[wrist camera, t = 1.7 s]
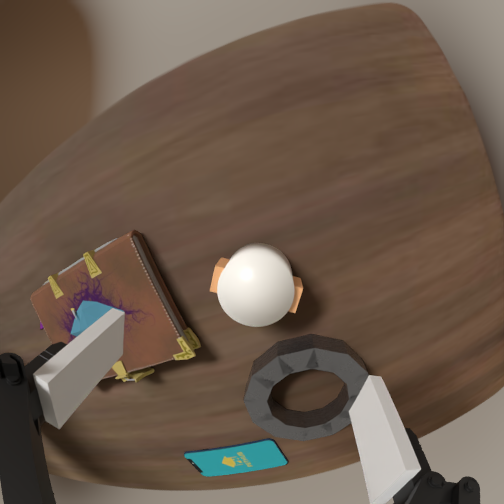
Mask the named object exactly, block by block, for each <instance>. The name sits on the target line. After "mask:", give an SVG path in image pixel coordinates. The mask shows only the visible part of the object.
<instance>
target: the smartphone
mask: <svg viewBox="0 0 504 504" xmlns="http://www.w3.org/2000/svg"><path fill="white" fill-rule="evenodd" d="M184 456H185V457H186V459H187V460H188V461H189V462H190V463H191V464H192V465H193V466H194V467H195V468H196V469H197V470H198V471H199V472H200V473H201V474H202V475H203V476H207V477H209V476H219V475H228V474H236V473H243V472H250V471H256V470H262V469H267V468H273V467H278V466H282V465H286V464H287V463H288V460H287V458H286V457H285V456H284V454H283V453H282V451H281V450H280V448H279V447H278V445H277V444H276V442H275V441H274V440H273V439H270V438H268V439H263V440H258V441H253V442H248V443H243V444H238V445H232V446H226V447H219V448H213V449H203V450H197V451H188V452H185V453H184Z"/></svg>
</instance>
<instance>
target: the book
mask: <svg viewBox="0 0 504 504" xmlns="http://www.w3.org/2000/svg"><path fill="white" fill-rule="evenodd" d="M116 239H117V238H116ZM116 239H114V240H115V241H114V240H112V241H110V242H108V243H106V244H104V245H102V246H101V247H99V248H97V249H95V250H92V251H89V252H86V253H85V254H83V256H84V257H83V258H81V259H80V260H78V261H77V262H75V263H73V264H72V265H70V266H69V267H67V268H66V269H64V270H63V271H61V272H60V273H57V274H54V275H51V276H50V277H48V281H46V282H45V283H44V284H45V285H44V284H43V286H42V287H40V288H39V289H38V290H36V291H35V292H33V293H32V295H31V298H30V299H31V302H32V304H33V306H34V308H35V311H36V313H37V315H38V317H39V319H40V321H41V322H40V329H42V328H44V329H45V331H46V333H47V335H48V337H49V339H50V341H51V343H52V344H55V343H58V342H63V343H65V344H67V345H68V344H69V343H70V342H71V341H72V340H74V339H75V338H76V337H77V336H79V335H80V334H81V333H82V332H83V331H85V330H86V329H87V328H88V327H90V326H91V325H92V324H93V323H94V322H96V321H97V320H98V319H99V318H101V317H102V316H103V315H104V314H106V313H107V312H108V311H109V310H111V309H112V308H114V309H117V310H119V311H122V312H125V319H124V338H123V355H122V356H121V357H120V358H119V359H118V361H117V362H116V363H115V364H114V365H113V366H112V368H111V369H110V370H109V371H108V372H107V373H106V375H105V376H104V377H103V378H102V379H105V378H109V377H113V376H117V375H118V376H117V377H116V378H115V379H120V378H121V379H122V380H123V382H125V381H135V382H136V383H137V382H138V381H139V380H141V379H142V378H143V377H145V376H147V375H149V374H152V373H154V369H153V368H151V367H150V366H153V365H157V364H160V363H164V362H167V361H170V360H174V359H175V360H185V359H189V358H192V357H194V356H196V354H195V352H194V350H195V349H197V348H199V347H201V344H200V342H199V339H198V338H197V336H196V335H195V334H194V333H193V331H192V330H191V329H190V328H187V326H186V324H185V322H184V320H183V318H182V316H181V315H180V313H179V311H178V309H177V307H176V305H175V303H174V301H173V299H172V297H171V295H170V293H169V291H168V289H167V287H166V285H165V283H164V281H163V279H162V277H161V275H160V273H159V271H158V269H157V267H156V265H155V262H154V260H153V258H152V256H151V254H150V252H149V249H148V247H147V245H146V243H145V241H144V239H143V237H142V235H141V233H139V232H138V231H136V230H132V231H131V232H129V233H127V234H125V235H124V236H122V237H120V238H118V239H117V240H116ZM129 377H131V378H133V379H130V378H129Z"/></svg>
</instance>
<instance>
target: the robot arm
mask: <svg viewBox="0 0 504 504" xmlns="http://www.w3.org/2000/svg"><path fill="white" fill-rule="evenodd" d="M124 319H125V312H122V311H119V310H117V309H114V308H112V309H111V310H109V311H108V312H107V313H106V314H104V315H103V316H102V317H101V318H99V319H98V320H97V321H96V322H94V323H93V324H92V325H91V326H90V327H88V328H87V329H86V330H85V331H83V332H82V333H81V334H80V335H79V336H77V337H76V338H75V339H74V340H72V341H71V342H70V343H69V344H68V345H67V344H65V343H63V342H58V343H55V344H52V345H51V346H50V347H48V348H47V349H46V350H45V351H43V352H42V353H41V354H40V355H38V356H37V357H36V358H35V359H33V360H32V361H31V362H30V363H28V364H27V365H26V366H25V367H24V363H23V360H22V358H21V357H20V356H18V355H16V354H13V353H4V354H2V355H0V481H1V488H2V495H3V500H4V504H56V502H55V498H54V495H53V491H52V487H51V483H50V479H49V474H48V470H47V465H46V460H45V454H44V449H43V443H42V436H41V428H40V426H41V425H42V424H43V423H44V422H45V421H46V422H48V423H50V424H51V425H53V426H54V427H56V428H58V429H60V428H61V427H62V426H63V424H64V423H65V422H66V421H67V420H68V418H69V417H70V416H71V415H72V414H73V412H74V411H75V410H76V409H77V408H78V406H79V405H80V404H81V403H82V402H83V400H84V399H85V398H86V397H87V396H88V394H89V393H90V392H91V391H92V390H93V389H94V387H95V386H96V385H97V384H98V383H99V382H100V380H101V379H102V378H103V377H104V376H105V375H106V373H107V372H108V371H109V370H110V369H111V368H112V366H113V365H114V364H115V363H116V362H117V361H118V359H119V358H120V357H121V356H122V355H123V338H124ZM349 415H350V418H351V422H352V426H353V430H354V434H355V438H356V443H357V447H358V451H359V455H360V460H361V464H362V468H363V473H364V477H365V482H366V486H367V490H368V496H369V501H370V504H385V503H387V502H388V501H389V500H390V499H391V498H392V497H393V500H394V504H480V487H479V484H478V483H477V481H476V480H475V479H474V478H472V477H463V478H462V479H461V480H460V481H459V482H458V483H452V482H446V481H445V479H444V477H443V476H442V475H441V474H439V473H437V472H433V471H431V469H430V466H429V464H428V462H427V459H426V457H425V454H424V452H423V451H422V448H421V445H420V444H419V441H418V439H417V436H416V435H415V434H414V433H413V431H412V430H411V429H410V428H404V426H403V424H402V421H401V419H400V417H399V415H398V412H397V410H396V408H395V406H394V403H393V401H392V399H391V397H390V394H389V392H388V390H387V388H386V386H385V384H384V382H383V379H382V377H380V376H373V375H369V376H368V378H367V380H366V382H365V384H364V386H363V387H362V389H361V391H360V393H359V395H358V397H357V398H356V400H355V402H354V404H353V405H352V407H351V409H350V410H349Z"/></svg>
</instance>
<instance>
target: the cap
mask: <svg viewBox="0 0 504 504" xmlns="http://www.w3.org/2000/svg"><path fill="white" fill-rule="evenodd" d="M210 291H212V292H215V293H217V294H218V299H219V302H220V304H221V306H222V308H223V310H224V311H225V312H226V313H227V314H228V315H229V316H230V317H231V318H232V319H234V320H235V321H237V322H239V323H241V324H244V325H247V326H253V327H261V326H266V325H270V324H272V323H275V322H276V321H278V320H280V319H281V318H282V317H283V316H284V315H285V314H286V313H287V312H288V311H289V312H293V313H295V312H296V309H297V306H298V303H299V300H300V297H301V294H302V291H303V286H302V281H301V278H299V277H295V276H292V270H291V266H290V263H289V261H288V259H287V257H286V256H285V255H284V254H283V252H281V251H280V250H279V249H277V248H276V247H274V246H272V245H269V244H265V243H252V244H248V245H245V246H243V247H242V248H240V249H239V250H237V251H236V252H235V253H234V254H233V256H232V257H231V259H230V260H229V259H225V258H221V259H220V260H219V261H218V263H217V264H216V265H215V269H214V274H213V278H212V283H211V288H210Z"/></svg>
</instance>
